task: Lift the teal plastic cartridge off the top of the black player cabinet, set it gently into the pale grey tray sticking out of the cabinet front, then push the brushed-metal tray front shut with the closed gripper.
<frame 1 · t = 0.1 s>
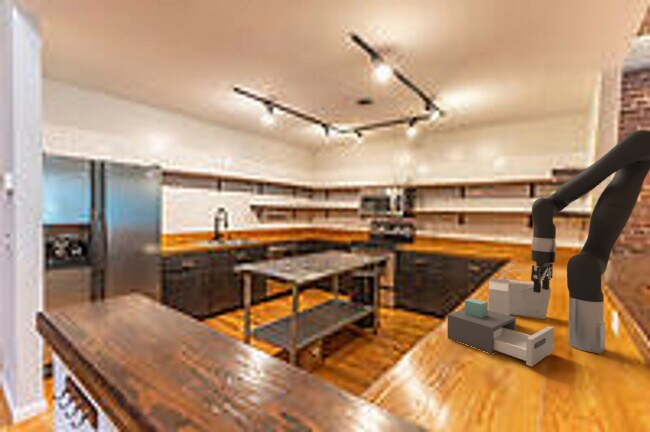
hand: (541, 290, 115), 17 cm above the counter, tool pointing down, fingers open, 8 cm apart
radio: (521, 315, 139), on the counter
tray: (515, 337, 100), point 5 cm above the counter, slide at 10.0 cm
cartridge: (476, 314, 111), point 9 cm above the counter, touching cabinet
cabinet: (481, 340, 110), on the counter
milk carton: (498, 323, 128), on the counter
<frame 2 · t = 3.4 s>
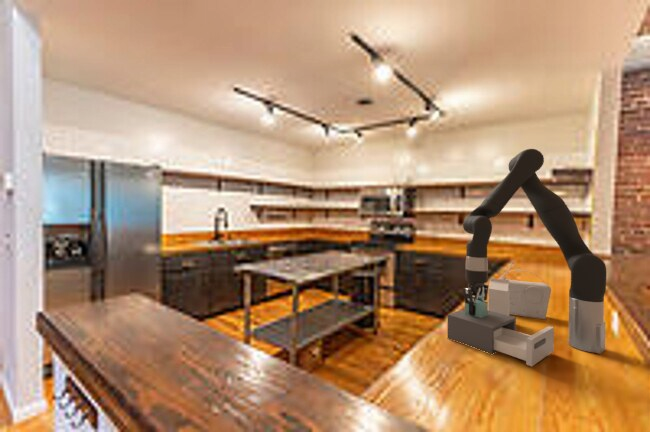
hand: (476, 313, 111), 9 cm above the counter, tool pointing down, fingers closed on cartridge, 5 cm apart
cartridge: (476, 314, 111), point 9 cm above the counter, touching cabinet, gripper
everything else where it was.
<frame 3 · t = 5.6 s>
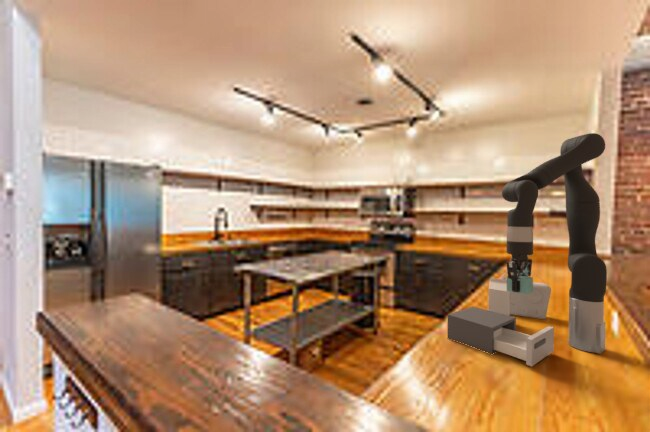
hand: (519, 290, 100), 21 cm above the counter, tool pointing down, fingers closed on cartridge, 5 cm apart
cartridge: (519, 291, 100), point 21 cm above the counter, touching gripper
everything else where it was.
when the fingers open (4 cm above the counter, at t = 8.1 s): cartridge drops 1 cm, resting on tray.
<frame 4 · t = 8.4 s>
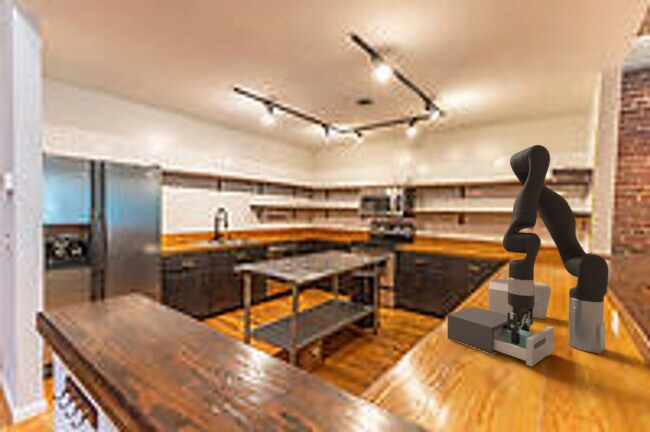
hand: (520, 340, 99), 4 cm above the counter, tool pointing down, fingers open, 7 cm apart
tray: (515, 337, 100), point 5 cm above the counter, slide at 10.0 cm, touching cartridge
cartridge: (520, 346, 99), point 2 cm above the counter, touching tray
everything else where it was.
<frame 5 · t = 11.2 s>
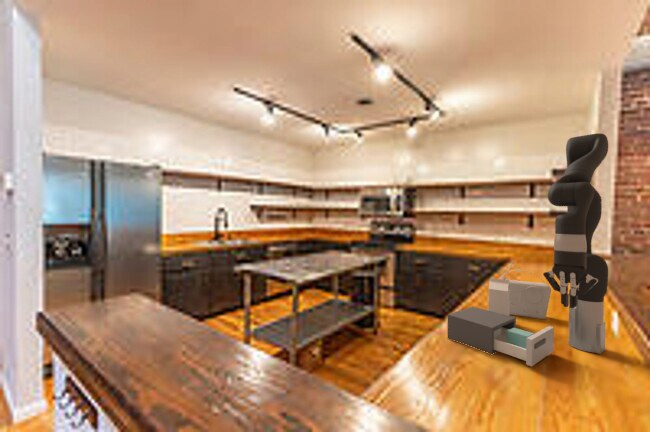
hand: (569, 306, 89), 19 cm above the counter, tool pointing down, fingers closed
nothing on the counter moved.
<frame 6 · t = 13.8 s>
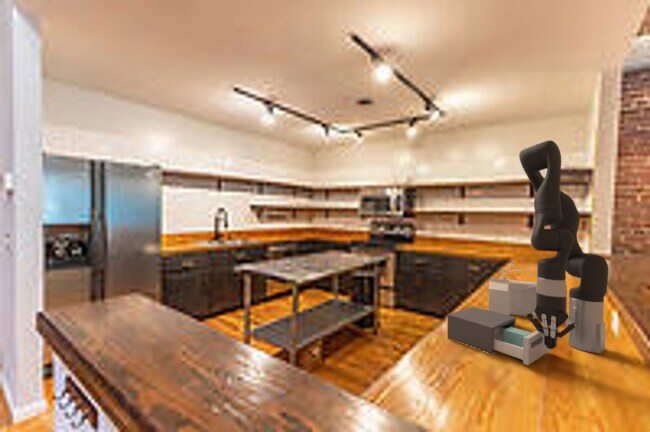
hand: (550, 348, 92), 5 cm above the counter, tool pointing down, fingers closed
tray: (513, 336, 101), point 5 cm above the counter, slide at 9.1 cm, touching cartridge, gripper
everything else where it was.
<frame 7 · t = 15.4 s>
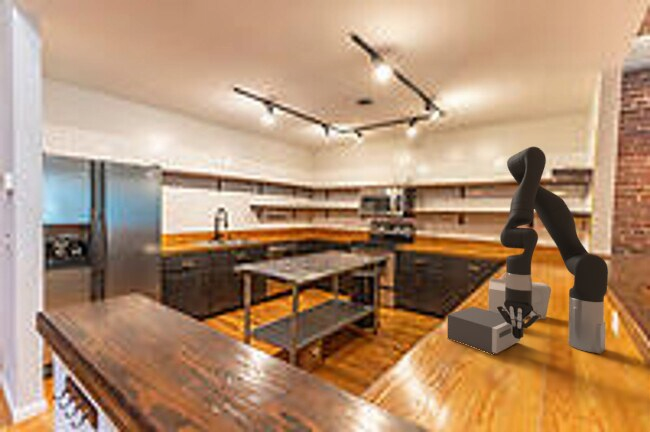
hand: (517, 338, 100), 5 cm above the counter, tool pointing down, fingers closed
tray: (485, 328, 108), point 5 cm above the counter, slide at 0.0 cm, touching cartridge, gripper
cartridge: (489, 336, 107), point 2 cm above the counter, touching tray
everything else where it was.
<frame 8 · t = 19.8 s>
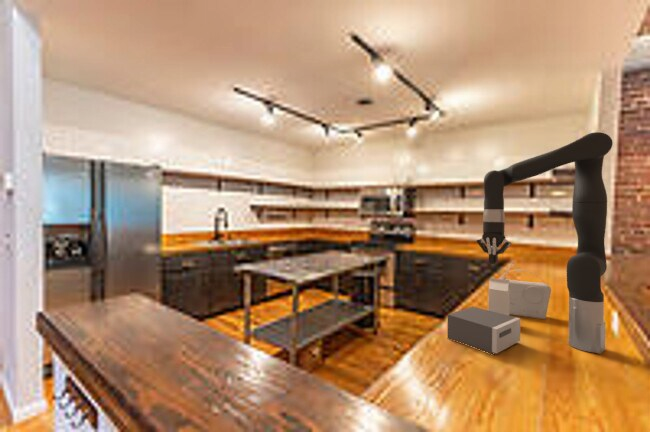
hand: (493, 263, 119), 27 cm above the counter, tool pointing down, fingers closed
tray: (485, 328, 108), point 5 cm above the counter, slide at 0.0 cm, touching cartridge
everything else where it was.
at the end: tray slide at 0.0 cm; cartridge inside the target area on the cabinet (2.4 cm from its centre), point 2.3 cm above the cabinet's base; cartridge tilted 0° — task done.
